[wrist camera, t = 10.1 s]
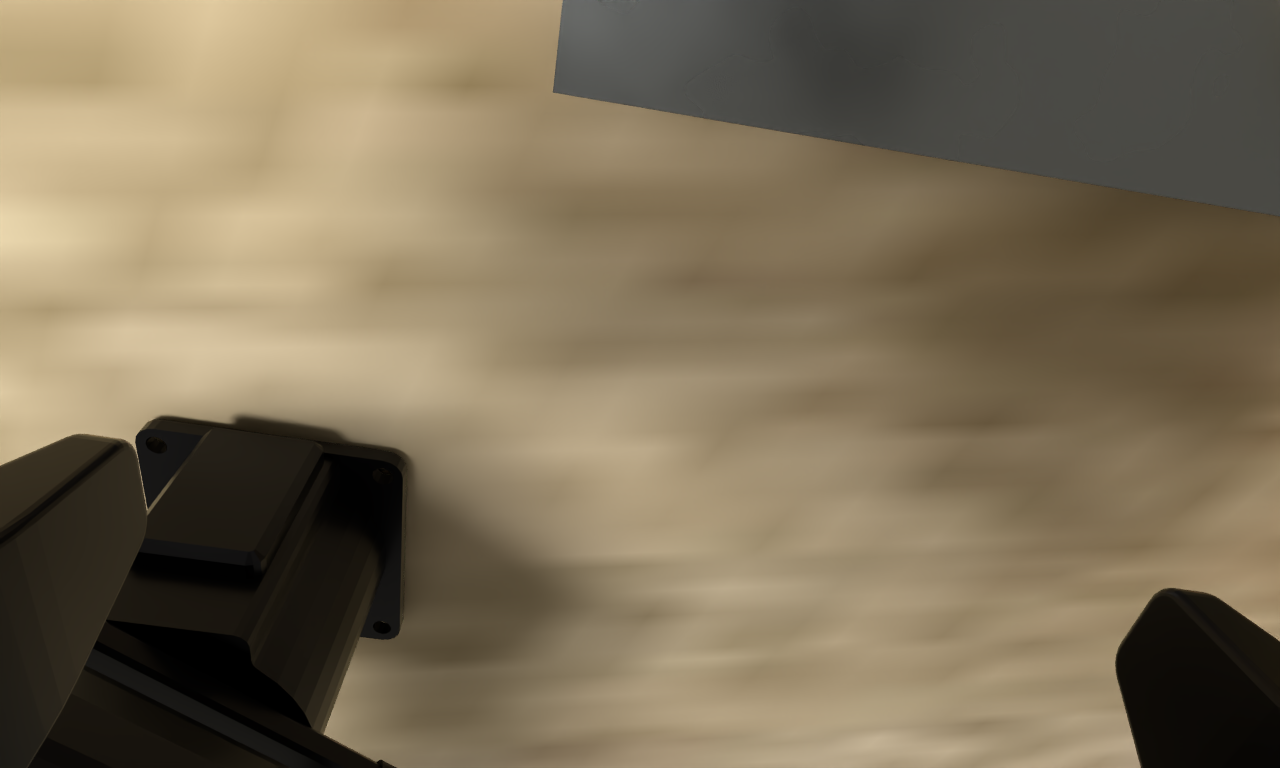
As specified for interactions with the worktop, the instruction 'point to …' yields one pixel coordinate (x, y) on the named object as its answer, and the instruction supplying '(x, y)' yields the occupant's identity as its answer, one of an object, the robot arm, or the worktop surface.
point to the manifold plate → (966, 81)
